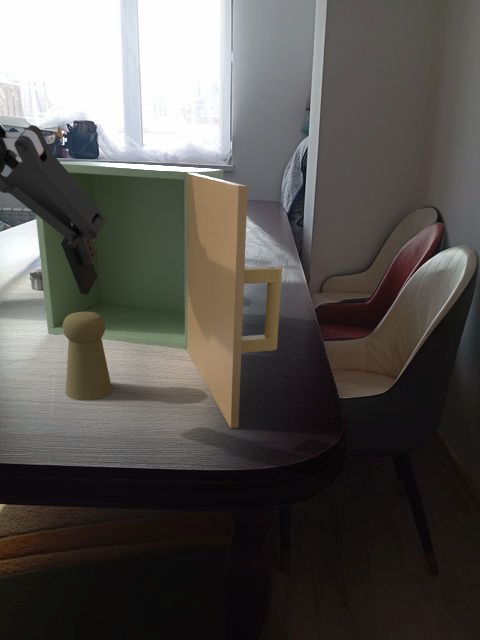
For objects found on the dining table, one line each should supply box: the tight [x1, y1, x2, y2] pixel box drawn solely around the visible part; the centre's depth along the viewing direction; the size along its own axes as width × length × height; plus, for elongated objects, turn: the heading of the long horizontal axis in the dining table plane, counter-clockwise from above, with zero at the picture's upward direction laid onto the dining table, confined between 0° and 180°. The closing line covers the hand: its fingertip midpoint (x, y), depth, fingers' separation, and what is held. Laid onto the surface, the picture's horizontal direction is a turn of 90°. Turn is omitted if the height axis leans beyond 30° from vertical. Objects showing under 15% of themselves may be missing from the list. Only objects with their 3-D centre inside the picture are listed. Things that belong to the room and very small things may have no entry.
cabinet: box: [35, 161, 224, 350], centre depth 91 cm, size 18×26×28 cm
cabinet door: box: [186, 173, 283, 429], centre depth 70 cm, size 6×26×28 cm, turn 19°
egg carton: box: [29, 268, 44, 291], centre depth 120 cm, size 11×8×4 cm
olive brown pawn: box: [63, 312, 113, 402], centre depth 68 cm, size 6×6×11 cm
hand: (27, 278), depth 54 cm, fingers open, 13 cm apart
